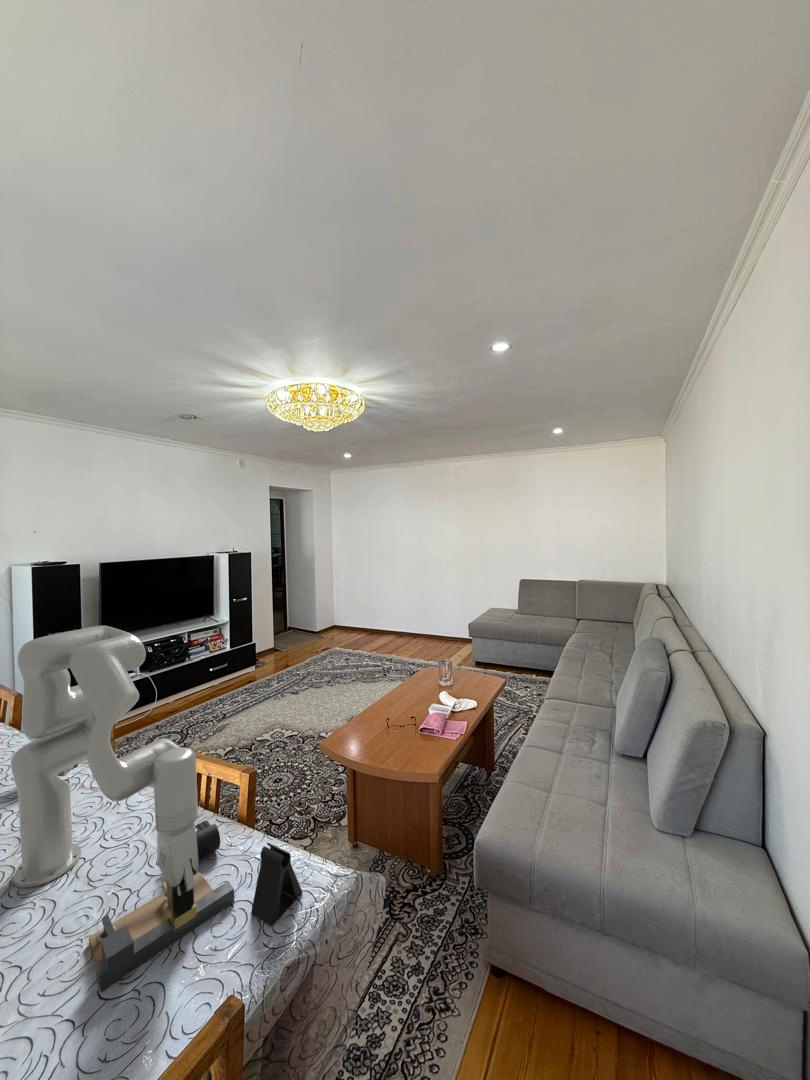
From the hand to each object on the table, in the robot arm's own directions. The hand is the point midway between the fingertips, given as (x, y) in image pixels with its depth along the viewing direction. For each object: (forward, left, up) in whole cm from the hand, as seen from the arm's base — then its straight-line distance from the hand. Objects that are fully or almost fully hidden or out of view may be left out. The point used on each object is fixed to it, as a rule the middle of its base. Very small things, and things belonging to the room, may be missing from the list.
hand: (180, 903), depth 85 cm
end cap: (-18, +9, -6) cm, 21 cm away
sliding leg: (-4, 0, -4) cm, 5 cm away
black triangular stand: (+9, +16, -6) cm, 19 cm away
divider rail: (-4, -2, -6) cm, 7 cm away
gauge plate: (-7, -3, -6) cm, 9 cm away
